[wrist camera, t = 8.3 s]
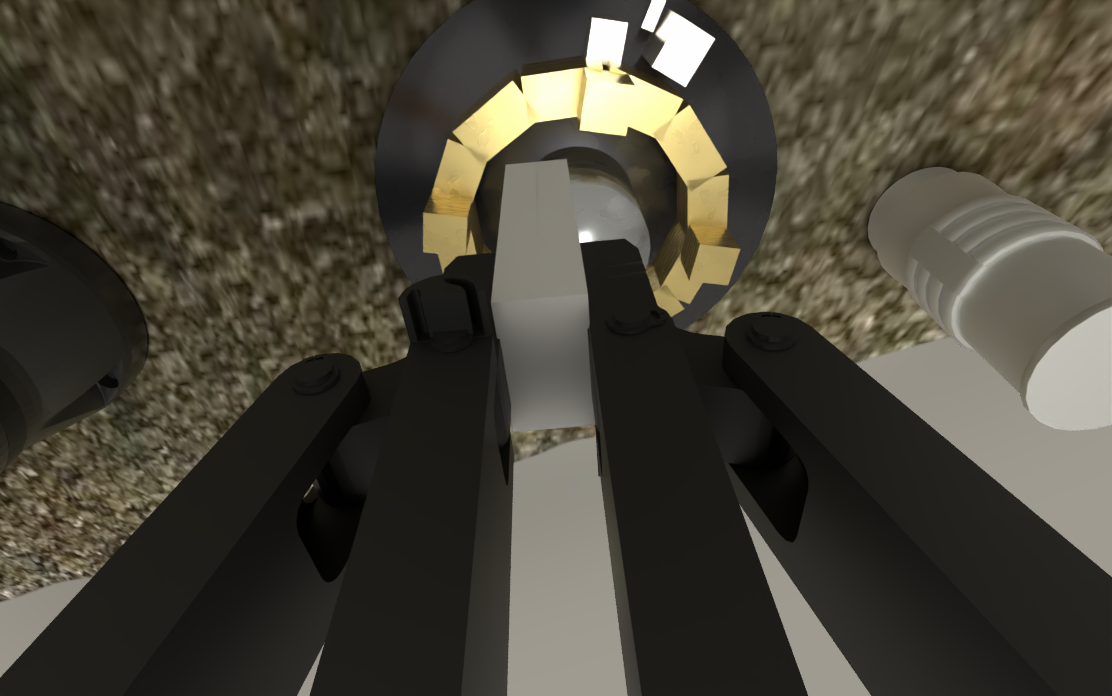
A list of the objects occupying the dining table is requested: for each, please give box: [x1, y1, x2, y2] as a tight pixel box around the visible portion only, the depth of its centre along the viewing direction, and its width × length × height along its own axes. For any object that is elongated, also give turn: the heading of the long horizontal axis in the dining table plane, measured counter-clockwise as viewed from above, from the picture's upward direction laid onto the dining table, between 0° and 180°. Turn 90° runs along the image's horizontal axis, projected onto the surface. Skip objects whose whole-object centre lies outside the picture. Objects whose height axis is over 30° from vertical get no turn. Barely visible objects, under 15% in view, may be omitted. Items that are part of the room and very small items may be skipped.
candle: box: [868, 167, 1112, 431], centre depth 29 cm, size 7×7×15 cm
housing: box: [375, 0, 777, 330], centre depth 31 cm, size 22×22×8 cm
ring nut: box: [423, 14, 740, 317], centre depth 30 cm, size 15×15×6 cm
